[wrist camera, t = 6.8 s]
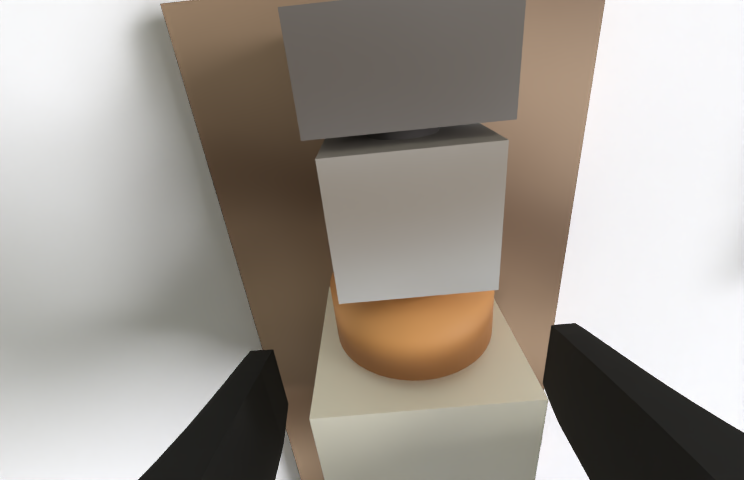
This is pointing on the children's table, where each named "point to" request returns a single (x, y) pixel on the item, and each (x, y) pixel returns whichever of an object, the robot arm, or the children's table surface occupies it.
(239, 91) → the rod board
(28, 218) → the children's table surface
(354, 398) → the sleeve
